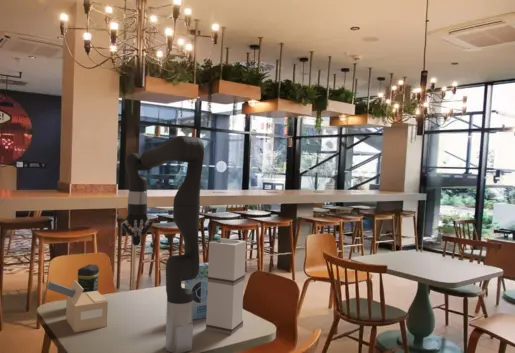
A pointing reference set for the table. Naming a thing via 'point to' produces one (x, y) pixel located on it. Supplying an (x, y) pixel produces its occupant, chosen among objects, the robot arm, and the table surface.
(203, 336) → the table surface
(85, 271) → the coffee jar
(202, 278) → the gum box
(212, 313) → the white square pillar
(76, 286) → the flap
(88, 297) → the carton
